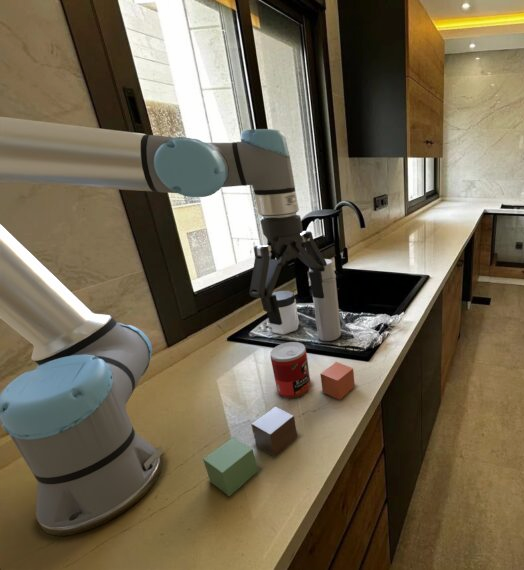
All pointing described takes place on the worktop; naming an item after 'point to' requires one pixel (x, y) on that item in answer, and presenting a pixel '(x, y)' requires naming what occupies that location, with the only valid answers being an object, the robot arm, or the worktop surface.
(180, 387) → the worktop surface
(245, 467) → the block sage
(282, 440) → the block walnut
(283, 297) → the jar
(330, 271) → the water bottle
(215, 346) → the worktop surface
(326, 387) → the block terracotta
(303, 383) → the canned food
